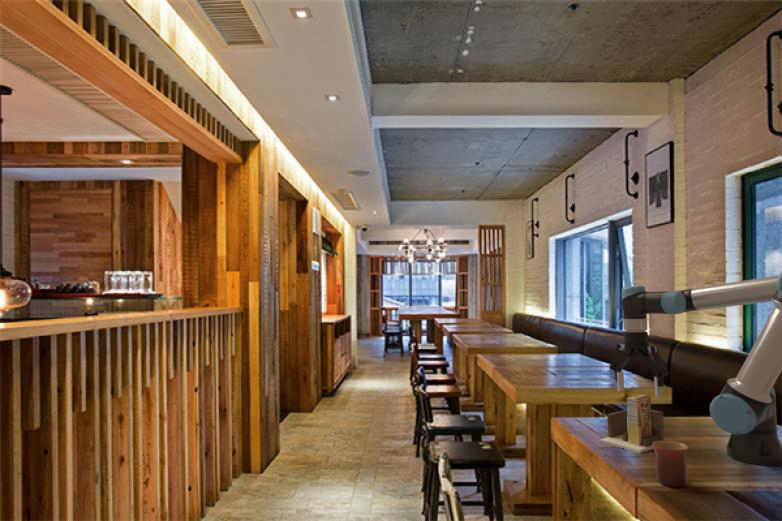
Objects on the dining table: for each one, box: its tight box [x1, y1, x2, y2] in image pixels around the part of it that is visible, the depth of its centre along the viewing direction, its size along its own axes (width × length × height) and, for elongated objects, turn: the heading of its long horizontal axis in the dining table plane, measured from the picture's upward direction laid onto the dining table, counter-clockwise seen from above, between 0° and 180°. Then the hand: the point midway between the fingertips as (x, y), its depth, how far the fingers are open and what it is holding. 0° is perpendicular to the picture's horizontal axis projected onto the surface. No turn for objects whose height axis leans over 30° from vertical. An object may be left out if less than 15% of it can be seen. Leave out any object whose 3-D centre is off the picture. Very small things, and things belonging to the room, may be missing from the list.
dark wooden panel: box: [607, 409, 628, 438], centre depth 185 cm, size 1×10×9 cm, turn 123°
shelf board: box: [599, 435, 654, 454], centre depth 178 cm, size 15×15×1 cm
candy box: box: [626, 393, 652, 445], centre depth 177 cm, size 9×4×15 cm, turn 128°
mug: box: [652, 440, 689, 488], centre depth 144 cm, size 12×9×10 cm
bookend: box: [623, 409, 665, 447], centre depth 178 cm, size 9×10×11 cm
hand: (639, 393), depth 177 cm, fingers open, 13 cm apart
